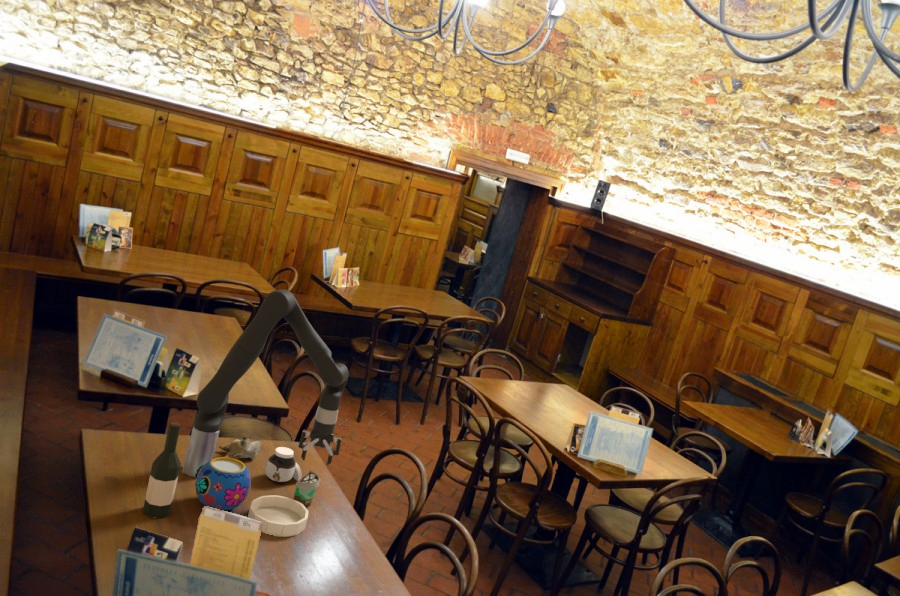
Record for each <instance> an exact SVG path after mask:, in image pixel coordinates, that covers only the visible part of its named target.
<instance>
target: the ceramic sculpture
mask: <svg viewBox="0 0 900 596" xmlns="http://www.w3.org/2000/svg"><path fill="white" fill-rule="evenodd" d="M261 446H262V440H256V441H250V439H249V438H248V437H242V438H237V439H234V440H233V441H232V442H231V443H230V444H227V445H225V446H221V445H219V446H218V448H219V449H221V450H222V451H223V452H225V453H227V454H226V455H225V456H223V457H228V458H233V459H236V460H239V459H245V458H250V459H251V460H255V459H256V456H257V454H258V453H259V452H260V449H261Z"/></svg>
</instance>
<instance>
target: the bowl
mask: <svg viewBox="0 0 900 596" xmlns="http://www.w3.org/2000/svg"><path fill="white" fill-rule="evenodd" d="M309 513H310V512H309V510H308V509H307V507H305V506H304V505H303V504H302V503H300V502H298V501H296V500H294V498H291V497H287V496H284V495H283V496H282V495H277V494H274V495H273V494H272V495H261V496H258V497H256V498H255V499H253V500H251V503H250V507H249V511H248V515H247V518H248V517H251V518H254V519H257V520H261V521H262V522H263V526H262V532H263V533H262V532H261V533H262V534H264V533H265V534H264V535H267V534H269V535H268V536H271V535H273V537H277V538H278V537H280V538H287V537H294V536H297V535H299V534H301V533H302V532H304V530H305V529H306V526H307V524H308V523H307V521H308V517H309Z"/></svg>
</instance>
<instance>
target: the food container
mask: <svg viewBox="0 0 900 596" xmlns="http://www.w3.org/2000/svg"><path fill="white" fill-rule="evenodd" d="M296 481H297V482H296V484H295V489H294V494H293V495H294V496H293V499H294V500H296V501H298V502H300V503H302V504H303V505H304V506H305V507H306V508H309V507H310V506H311V505H312V502H313V498H314V496H315V493H316V489H317V488H319V486H320V476H319V474H317V473H316V472H314V471H313V470H308V472H307V474H306V475H304V476H303V477H301V479H300V480H296Z"/></svg>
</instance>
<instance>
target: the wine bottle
mask: <svg viewBox="0 0 900 596" xmlns="http://www.w3.org/2000/svg"><path fill="white" fill-rule="evenodd" d="M180 432H181V425H180V422H178V421H171V422H170V424H169V425H168V429H167V433H166V437H165V438H166V439H165V443H164V447H163V448H164V449H163V451H161V453H159V455H158V456H157V457H156V458H155V459H154V460H153V461H152V465H151V470H150V474H149V479H148V483H147V484H148V485H147V488H146V494H145V498H144V503H143V504H144V505H143V507H142V513H144V514H145V516H147V517H148V516H149V518H153V517H156V518H155V519H161V518H160V517H163V518H167V517H168V516H169V515H170V514H171V513H172V511H171V510H172V508H173V502H174V497H175V493H176V488H177V484H178V479H179V475H180V471H181V465H182V463H181V461H180V459H179V456H178V453H177V451H176V449H177V445H178V441H179V435H180ZM166 516H167V517H166Z"/></svg>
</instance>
